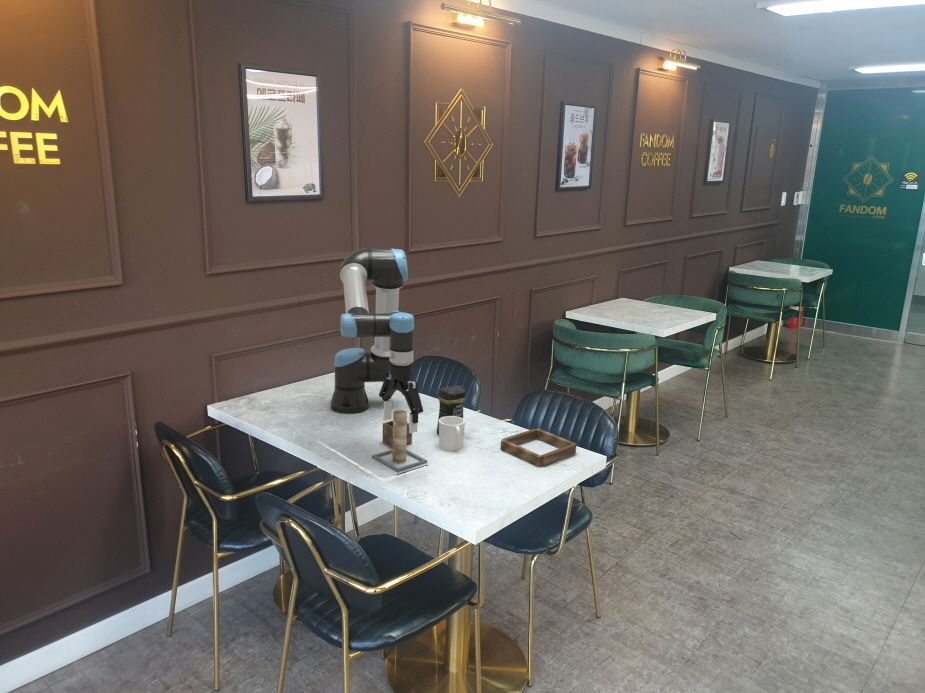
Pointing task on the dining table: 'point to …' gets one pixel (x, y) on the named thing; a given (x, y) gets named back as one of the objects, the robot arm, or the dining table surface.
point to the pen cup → (389, 434)
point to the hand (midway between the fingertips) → (400, 425)
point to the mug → (451, 433)
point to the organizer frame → (535, 459)
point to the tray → (421, 461)
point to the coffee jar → (451, 402)
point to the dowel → (399, 436)
